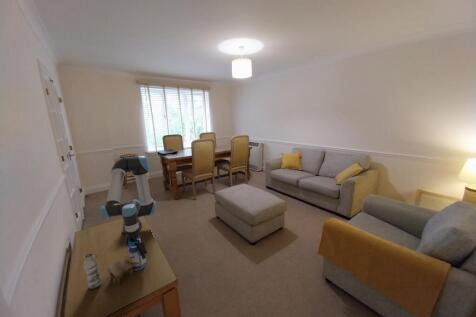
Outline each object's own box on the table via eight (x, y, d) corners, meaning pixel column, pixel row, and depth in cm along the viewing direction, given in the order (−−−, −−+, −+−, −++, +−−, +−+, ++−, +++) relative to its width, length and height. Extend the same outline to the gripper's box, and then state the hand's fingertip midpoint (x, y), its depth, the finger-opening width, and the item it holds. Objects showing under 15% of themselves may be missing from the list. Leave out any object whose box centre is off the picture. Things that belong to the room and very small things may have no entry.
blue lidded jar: (147, 266, 127) (143, 239, 122) (133, 273, 121) (128, 245, 117) (143, 259, 133) (139, 233, 128) (129, 266, 127) (124, 239, 123)
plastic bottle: (94, 280, 117) (87, 251, 112) (105, 281, 116) (98, 252, 112) (85, 290, 111) (77, 259, 106) (96, 291, 110) (89, 260, 105)
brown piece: (126, 267, 126) (124, 258, 124) (134, 274, 121) (133, 264, 119) (109, 278, 118) (107, 268, 116) (117, 286, 113) (115, 275, 111)
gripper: (115, 226, 124) (121, 255, 129) (138, 238, 111) (143, 270, 116) (127, 220, 130) (132, 248, 135) (150, 231, 117) (154, 262, 122)
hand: (137, 258), depth 126 cm, fingers open, 13 cm apart
